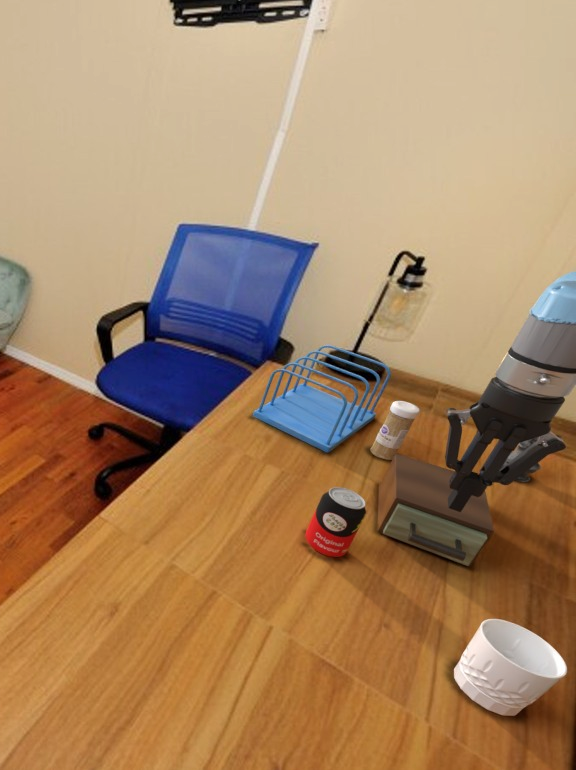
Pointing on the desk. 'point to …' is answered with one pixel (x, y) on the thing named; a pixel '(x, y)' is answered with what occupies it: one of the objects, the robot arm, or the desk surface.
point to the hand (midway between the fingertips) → (454, 505)
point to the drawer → (435, 534)
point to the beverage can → (336, 521)
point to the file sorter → (319, 405)
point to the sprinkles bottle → (394, 429)
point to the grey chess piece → (514, 454)
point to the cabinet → (428, 496)
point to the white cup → (507, 667)
